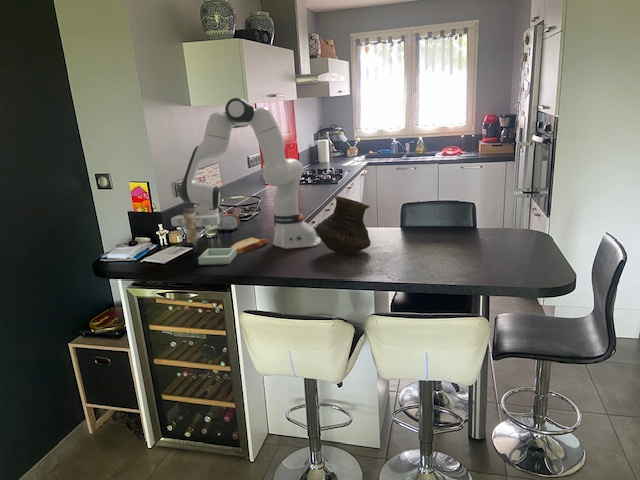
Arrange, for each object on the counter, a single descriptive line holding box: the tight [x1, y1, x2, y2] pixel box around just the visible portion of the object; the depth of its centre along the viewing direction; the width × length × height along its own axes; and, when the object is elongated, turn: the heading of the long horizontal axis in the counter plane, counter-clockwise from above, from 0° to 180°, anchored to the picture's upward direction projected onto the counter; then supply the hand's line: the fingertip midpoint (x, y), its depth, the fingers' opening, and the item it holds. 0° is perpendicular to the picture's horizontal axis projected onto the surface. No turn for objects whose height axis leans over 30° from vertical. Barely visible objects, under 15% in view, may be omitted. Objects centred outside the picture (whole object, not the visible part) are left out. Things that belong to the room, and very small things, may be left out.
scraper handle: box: [182, 207, 199, 243], centre depth 202 cm, size 4×4×14 cm
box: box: [197, 247, 238, 265], centre depth 208 cm, size 13×13×3 cm
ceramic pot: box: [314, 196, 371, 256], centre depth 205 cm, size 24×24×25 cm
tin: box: [217, 213, 241, 231], centre depth 260 cm, size 15×3×8 cm, turn 84°
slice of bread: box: [230, 237, 268, 255], centre depth 224 cm, size 18×18×4 cm
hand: (189, 224), depth 201 cm, fingers closed on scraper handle, 3 cm apart
